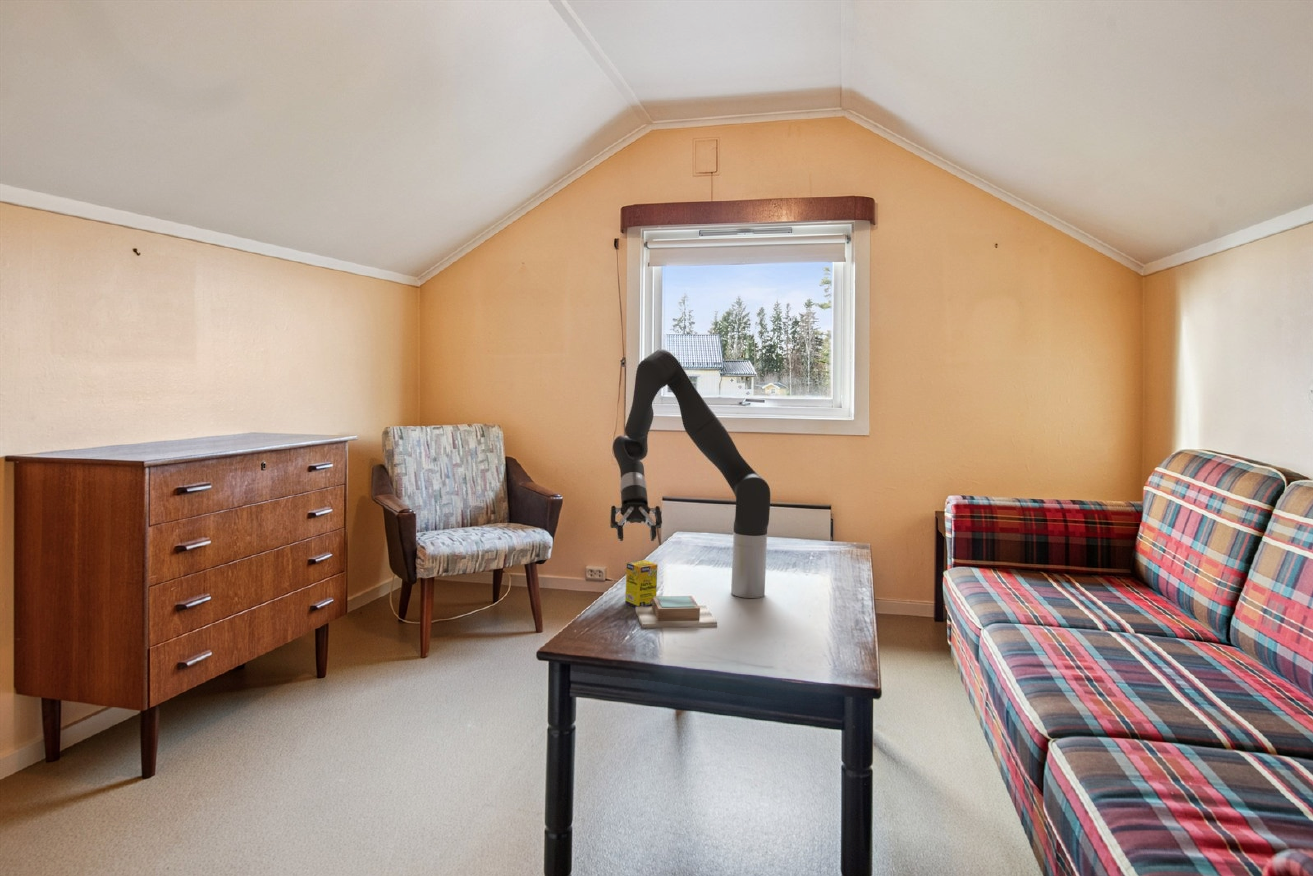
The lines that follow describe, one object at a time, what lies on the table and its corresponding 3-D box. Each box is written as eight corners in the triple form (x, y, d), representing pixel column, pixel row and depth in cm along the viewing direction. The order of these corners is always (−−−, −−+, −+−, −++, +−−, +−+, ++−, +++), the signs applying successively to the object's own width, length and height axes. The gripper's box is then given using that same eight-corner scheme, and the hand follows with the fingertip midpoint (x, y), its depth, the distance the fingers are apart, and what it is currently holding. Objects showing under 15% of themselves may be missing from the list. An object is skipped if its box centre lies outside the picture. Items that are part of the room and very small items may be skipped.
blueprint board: (635, 610, 179) (635, 594, 179) (705, 609, 182) (705, 593, 181) (642, 628, 166) (642, 610, 166) (717, 626, 169) (717, 609, 168)
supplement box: (638, 609, 180) (640, 567, 179) (624, 603, 184) (625, 562, 184) (656, 605, 184) (658, 564, 183) (642, 599, 188) (643, 559, 188)
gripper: (610, 483, 200) (612, 532, 190) (659, 484, 202) (665, 532, 192) (608, 499, 206) (610, 547, 195) (656, 499, 208) (661, 547, 197)
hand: (637, 539), depth 193 cm, fingers open, 8 cm apart
